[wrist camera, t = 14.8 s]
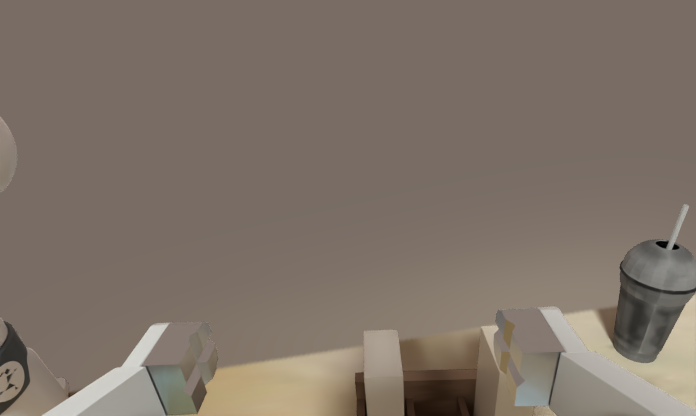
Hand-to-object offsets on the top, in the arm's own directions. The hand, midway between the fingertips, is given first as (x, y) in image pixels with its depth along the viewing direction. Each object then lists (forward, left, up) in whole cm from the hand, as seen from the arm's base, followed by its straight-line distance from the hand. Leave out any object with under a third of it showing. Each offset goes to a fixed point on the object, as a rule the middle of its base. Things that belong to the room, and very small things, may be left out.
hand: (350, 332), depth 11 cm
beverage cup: (+33, +29, -32) cm, 55 cm away
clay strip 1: (+1, +15, -30) cm, 34 cm away
